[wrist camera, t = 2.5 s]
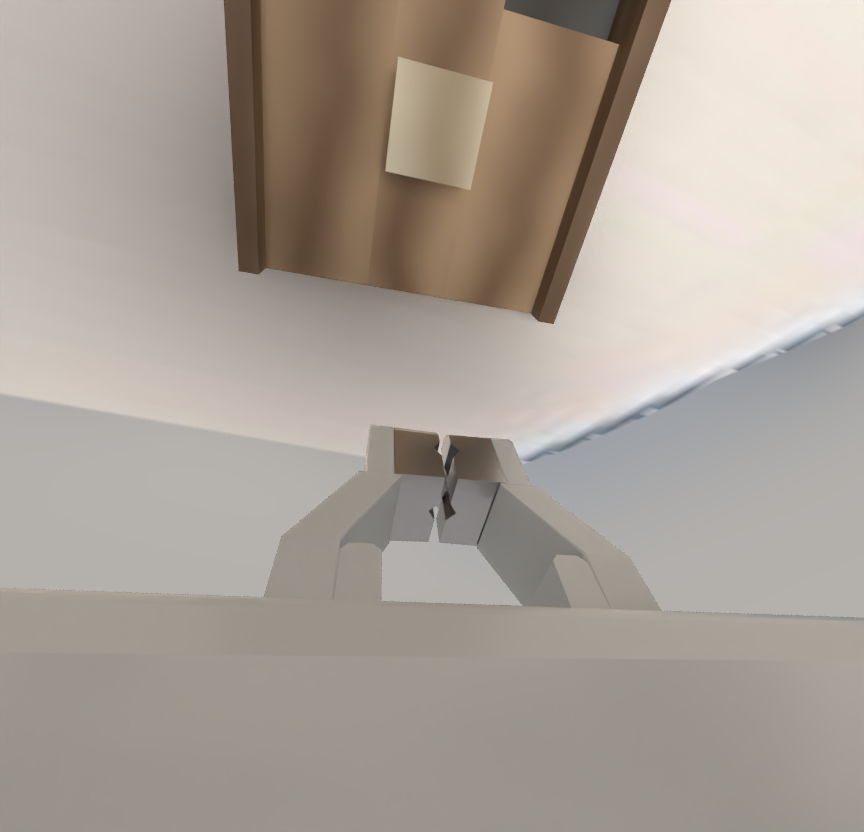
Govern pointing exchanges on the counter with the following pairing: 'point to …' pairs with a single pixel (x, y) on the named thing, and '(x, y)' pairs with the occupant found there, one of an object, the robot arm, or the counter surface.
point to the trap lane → (416, 198)
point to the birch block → (436, 123)
